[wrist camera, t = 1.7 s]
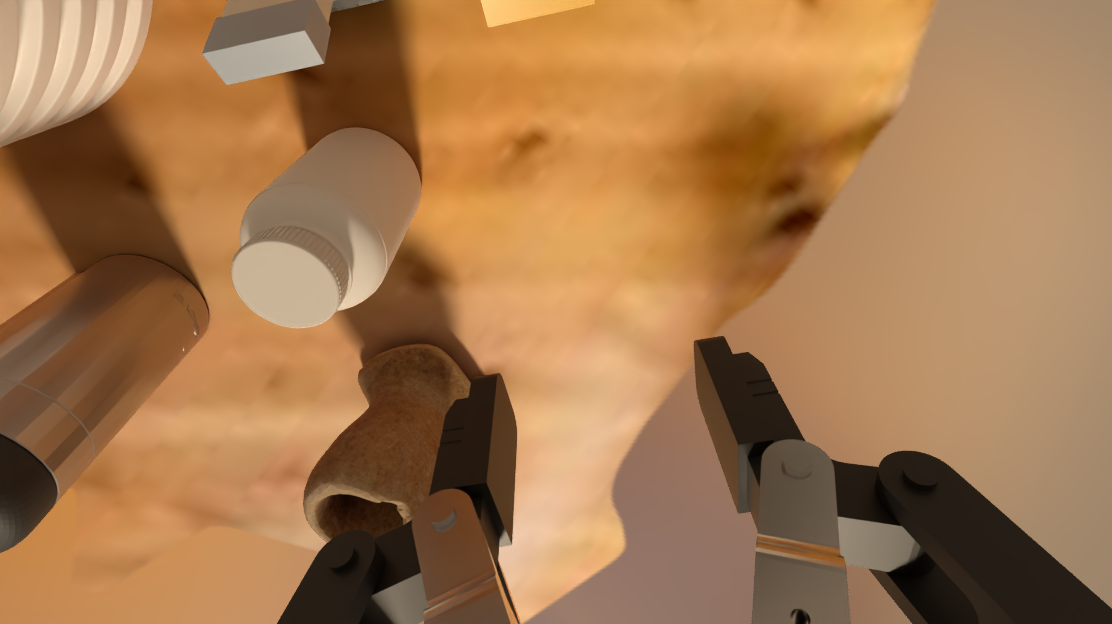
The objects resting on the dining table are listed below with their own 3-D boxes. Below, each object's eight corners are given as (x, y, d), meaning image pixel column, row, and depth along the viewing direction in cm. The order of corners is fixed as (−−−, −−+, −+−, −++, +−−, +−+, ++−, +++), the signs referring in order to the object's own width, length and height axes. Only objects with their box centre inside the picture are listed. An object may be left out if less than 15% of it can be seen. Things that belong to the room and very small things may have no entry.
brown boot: (327, 363, 49) (253, 505, 36) (444, 322, 46) (409, 459, 34) (411, 466, 57) (375, 612, 44) (515, 436, 54) (508, 580, 42)
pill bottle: (286, 163, 38) (165, 266, 26) (371, 101, 36) (283, 180, 24) (364, 248, 42) (291, 372, 30) (445, 196, 40) (403, 307, 28)
